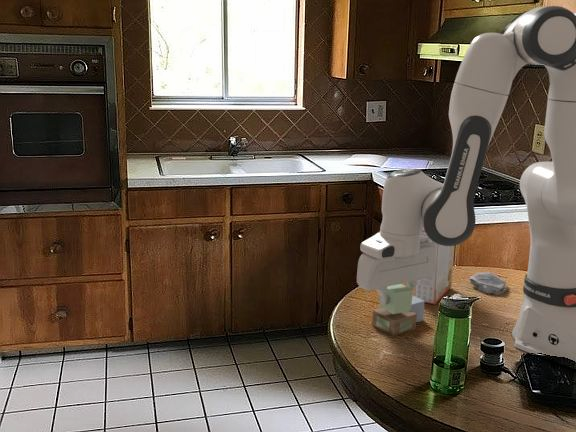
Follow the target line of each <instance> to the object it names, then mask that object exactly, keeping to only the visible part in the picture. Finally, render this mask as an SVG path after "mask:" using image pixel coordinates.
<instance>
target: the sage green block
mask: <svg viewBox="0 0 576 432" xmlns="http://www.w3.org/2000/svg"><path fill="white" fill-rule="evenodd" d="M406 286H407V285H404V284H403V283H402V284H397V285H393V286H388V287H387V291H385V293H386V295H387V296H389V297H390V300H389V301H390V303H389V304H386V305H383V304H381V303H380V302H379V308H383V309H385V310H387V311H389V312H390V313H392V314H397V313H403V312H408V311H411V304H412V295H413V293H414V291H413V290H412V289H410V288H408V287H406ZM413 296H414V295H413Z"/></svg>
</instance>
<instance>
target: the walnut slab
mask: <svg viewBox="0 0 576 432" xmlns="http://www.w3.org/2000/svg"><path fill="white" fill-rule="evenodd" d="M416 318H417V314H416V313H414V312H412V311H408V312H403V313H397V314H392V313H390V312H389V311H387V310H385V309H383V308H381V307H379V308H376V309H373V310H372V322H371V326H373V327H374V328H377V329H378V330H380V331H382V332H384V333H386V334H388V335H390V336H392V337H396V336H398V335H402V334H405V333H408V332H411V331H413V330H416V327H417V322H416Z"/></svg>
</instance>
